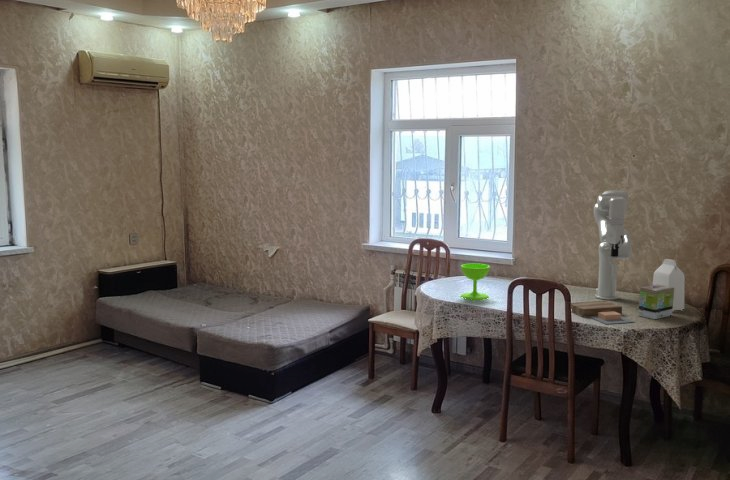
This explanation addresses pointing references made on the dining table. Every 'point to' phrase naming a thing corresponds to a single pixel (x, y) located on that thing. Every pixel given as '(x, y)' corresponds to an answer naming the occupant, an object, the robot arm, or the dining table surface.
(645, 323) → the dining table surface
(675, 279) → the milk
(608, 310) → the brown flat block
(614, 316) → the tile
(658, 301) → the tea box
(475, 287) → the wineglass
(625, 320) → the mat
